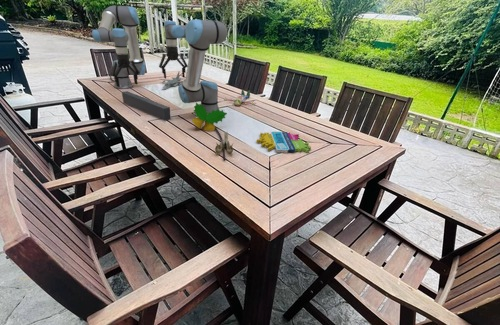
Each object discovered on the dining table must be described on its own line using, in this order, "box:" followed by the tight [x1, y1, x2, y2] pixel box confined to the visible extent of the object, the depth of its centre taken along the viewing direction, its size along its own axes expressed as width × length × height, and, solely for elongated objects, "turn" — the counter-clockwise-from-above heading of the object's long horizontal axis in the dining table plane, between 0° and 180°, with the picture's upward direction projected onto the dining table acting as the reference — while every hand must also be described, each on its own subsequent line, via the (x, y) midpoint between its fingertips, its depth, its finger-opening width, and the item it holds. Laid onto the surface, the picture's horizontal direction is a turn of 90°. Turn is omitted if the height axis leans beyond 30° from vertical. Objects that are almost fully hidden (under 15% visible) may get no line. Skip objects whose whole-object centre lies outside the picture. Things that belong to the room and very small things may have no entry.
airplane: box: [159, 70, 184, 91], centre depth 251 cm, size 38×31×10 cm
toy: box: [223, 89, 257, 106], centre depth 219 cm, size 28×7×30 cm
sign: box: [256, 131, 312, 154], centre depth 152 cm, size 26×2×30 cm
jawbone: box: [214, 131, 234, 156], centre depth 136 cm, size 9×15×10 cm
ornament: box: [191, 102, 228, 132], centre depth 162 cm, size 21×8×15 cm, turn 105°
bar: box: [121, 91, 172, 122], centre depth 184 cm, size 52×4×8 cm, turn 51°
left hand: (127, 85), depth 190 cm, fingers open, 13 cm apart
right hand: (174, 77), depth 191 cm, fingers open, 13 cm apart
